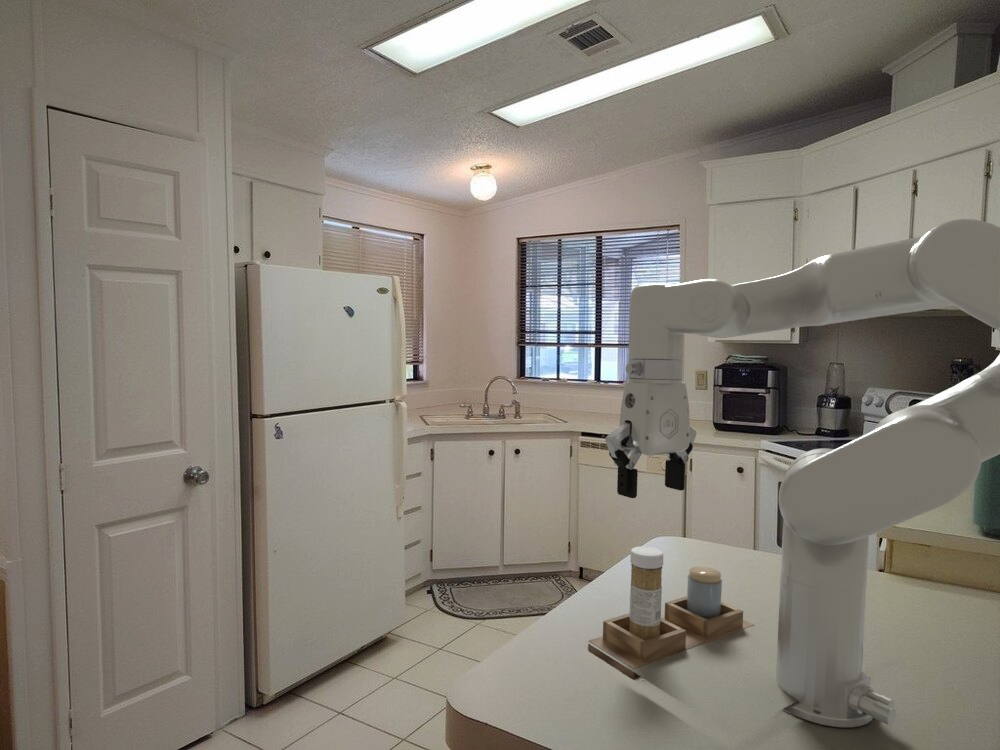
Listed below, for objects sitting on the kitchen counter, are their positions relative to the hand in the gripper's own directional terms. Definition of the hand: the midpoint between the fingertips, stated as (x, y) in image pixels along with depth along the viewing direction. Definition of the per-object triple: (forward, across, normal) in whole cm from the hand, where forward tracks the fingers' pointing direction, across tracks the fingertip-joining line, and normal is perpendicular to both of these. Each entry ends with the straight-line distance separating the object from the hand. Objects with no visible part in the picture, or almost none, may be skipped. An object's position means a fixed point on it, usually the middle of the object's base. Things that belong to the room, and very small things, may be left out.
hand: (651, 492), depth 87 cm
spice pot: (+22, +13, 0) cm, 25 cm away
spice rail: (+23, +6, 0) cm, 24 cm away
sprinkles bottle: (+22, 0, 0) cm, 22 cm away
